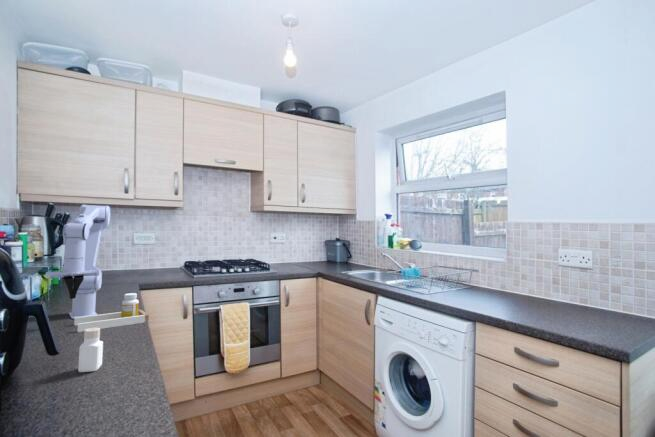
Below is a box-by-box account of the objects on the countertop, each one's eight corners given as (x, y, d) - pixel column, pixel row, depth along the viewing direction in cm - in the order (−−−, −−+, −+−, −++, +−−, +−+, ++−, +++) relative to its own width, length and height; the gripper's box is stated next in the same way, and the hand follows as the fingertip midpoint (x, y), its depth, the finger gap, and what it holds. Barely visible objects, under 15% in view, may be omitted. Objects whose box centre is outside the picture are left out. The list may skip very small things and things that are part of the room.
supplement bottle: (133, 318, 127) (134, 292, 127) (141, 320, 124) (142, 293, 124) (117, 321, 122) (119, 294, 123) (125, 323, 119) (127, 296, 120)
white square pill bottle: (96, 371, 80) (99, 331, 80) (77, 373, 79) (79, 332, 79) (102, 365, 84) (104, 326, 84) (84, 366, 83) (86, 327, 83)
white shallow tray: (74, 324, 116) (74, 317, 116) (140, 316, 130) (141, 309, 130) (77, 332, 109) (78, 324, 109) (148, 321, 122) (148, 315, 122)
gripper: (47, 259, 108) (45, 302, 107) (101, 258, 117) (99, 297, 117) (46, 258, 113) (44, 299, 112) (98, 256, 123) (96, 294, 122)
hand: (72, 298), depth 115 cm, fingers closed
